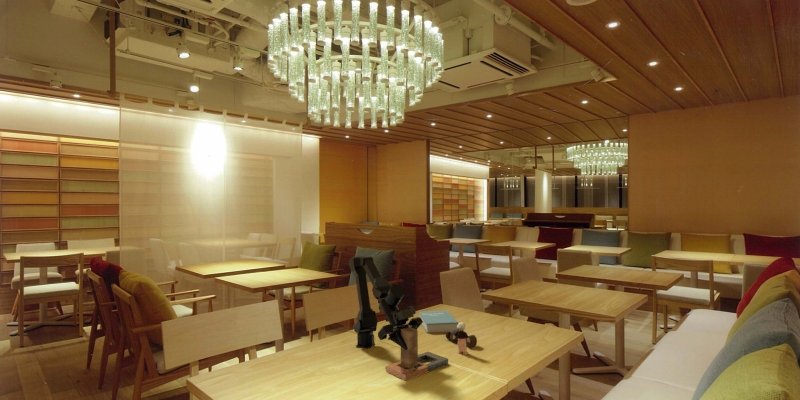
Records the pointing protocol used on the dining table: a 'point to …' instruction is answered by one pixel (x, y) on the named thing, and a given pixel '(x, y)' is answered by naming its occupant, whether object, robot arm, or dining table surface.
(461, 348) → the grandmother figurine
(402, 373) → the grey-tan flat frame piece
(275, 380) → the dining table surface
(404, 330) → the walnut post
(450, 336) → the bolt
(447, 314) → the book
